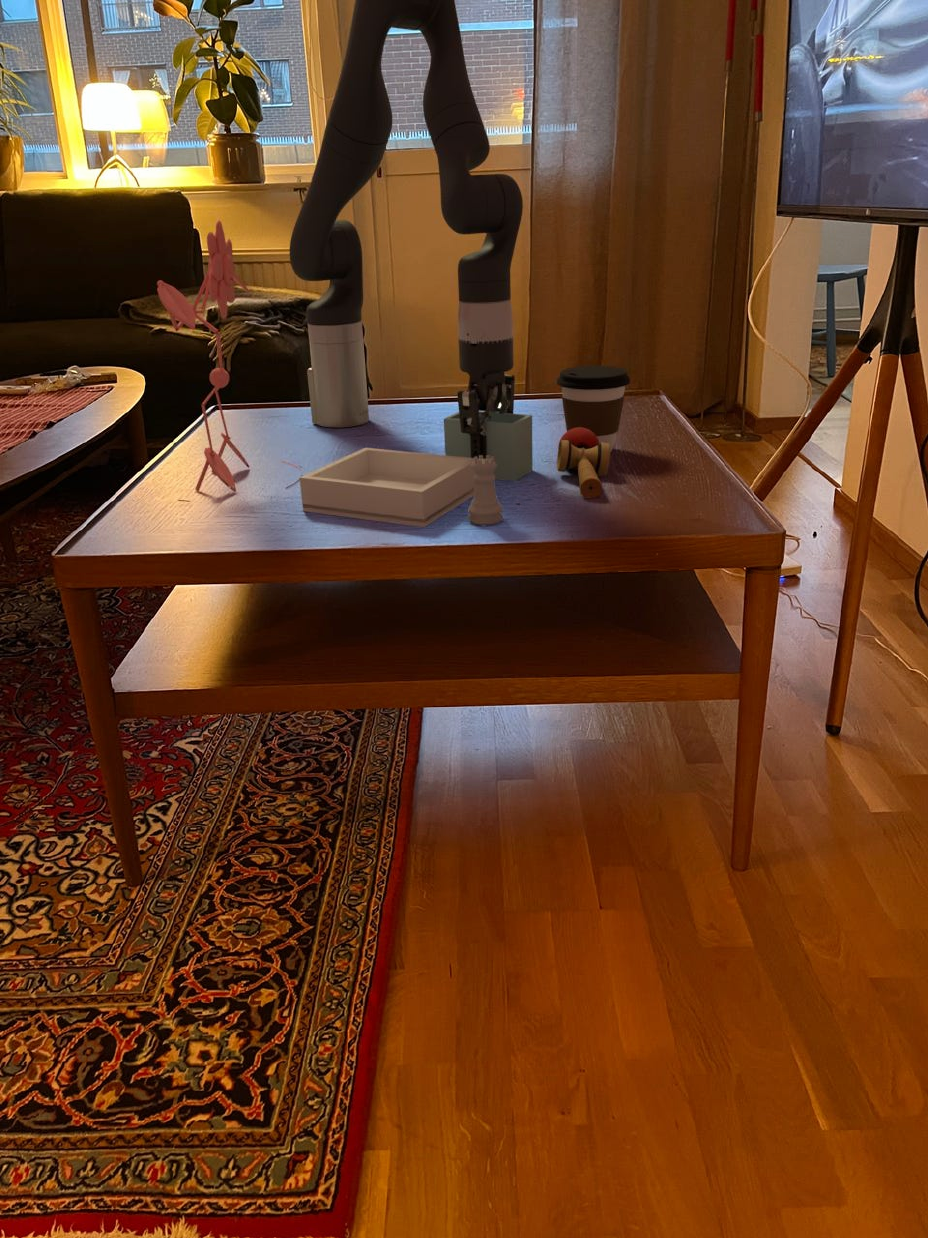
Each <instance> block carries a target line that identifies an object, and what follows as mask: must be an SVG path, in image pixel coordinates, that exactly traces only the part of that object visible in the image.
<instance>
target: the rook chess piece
mask: <svg viewBox="0 0 928 1238" xmlns="http://www.w3.org/2000/svg"><path fill="white" fill-rule="evenodd" d="M473 459H474V462H473V463H472V465H471V468H472V469H473V470H474V472H475V476H474V477H473V479H474V480H475V489H474V496H472V497H473V498H472V500H471V502H470V503H471V504H470V505H469V507H468V511H467V512H468V513H469V515H468V516H467V519H468V520H469V522H470V523H471V524H473V525H475V526H480V525H485V526H484V527H486V526H488V525H489V526H494V525H498V524H499V523H501V521H502V520H503V519H504V515H503V514H502V512H503V510H504V509H503V506H502V505H501V504H500V503H499V502H500V501H499V499H498V497H497V494H496V493H497V491H496V487H495V486H496V485H495V480H496V479H495V478H496V477H495V475H494V470H495V469H496V467H497V464H496V462H495V461H494V457H493V456H492V457H491V459H490V455H486V459H483V455H480V456H479V459H478V457H477V456H476V457H474V458H473Z"/></svg>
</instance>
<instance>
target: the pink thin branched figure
mask: <svg viewBox="0 0 928 1238" xmlns="http://www.w3.org/2000/svg"><path fill="white" fill-rule="evenodd" d="M206 246H207V251H208V256H209V259H208V264H207V265H208V267H207V272H206V275H205V277H204V279H203V282H202V284H201V286H200V289H199V291H198V293H197V296H196V298H195V300H194V303H193V305H192V304H191V302H190V301H188V299H187V298H186V296H185V295H183V294H182V293H181V292H180V291H179V290H178V289H176V287H174V286H173V285H170V284H168V283H166V282H164V281H163V280H161V279H160V280H158V281H157V282H156V285H157V289H156V290H157V293H158V297H159V300H160V302H161V303H162V305H163V306H164V308H165V309H166V310H167V312H168V315H169V318H170V321H171V323H172V326H173V329H174V331H175V332H178V331H179V330H180V329H181V328H182V327H183V326H184V325H185V326H186V327H188V328H189V329H192V330H195V329H196V323H197V322H196V319H197V320H198V321H200V322H201V323H202V324H203V325H204V326H205V327H207V328H208V329H209V330H210V331H211V332H213V333H214V334H215V338H216V347H217V355H218V364H219V367H216V368H214V369H212V370H211V372H210V373H209V381H210V384H211V385H212V386H214V387H213V389H212V390H211V392H210V393H209V394H208V395H207V396H206V397H205V399H204V401H203V402H202V403H201V410H202V414H203V419H204V423H205V424H204V425H205V428H206V429H205V430H206V435H207V441H208V444H209V446H208V447H205V448H204V451H203V454H204V457H205V459H206V460H205V463H204V466H203V468H202V471H201V474H200V476H199V479H198V481H197V482H196V483H197V484H196V486H195V491H198V492H199V491H200V489H201V486H202V484H203V481H204V479H205V477H206V473H207V471H208V468H209V467H210V468H211V473H212V474H214V475H216V476H217V478H218V479H219V480H220V481H221V482H222V484H224V485H226V486H227V487H228V488H229V489H230V490H231V491H233V493H236V492H237V488H236V484H235V478H234V477H233V475H232V472H231V471H230V468H229V467H228V466H227V464H226V463H225V461H224V460H223V459H222V456H223V453H224V451H225V448H226V446H228V447H229V448H230V449H231V450H232V451H233V452H234V454H235V455H236V456H237V458H239V460H241V462H242V463H243V464H244V466H246V467H247V468H250V467H251V466H250V465H249V463H248V461H247V460H246V459H245V457H244V456H243V455H242V453H241V452H240V451H239V449H238V448H237V447H236V445H234V444H233V442H232V441H231V438H232V437H230V436H229V433H228V429H227V424H226V420H225V419H226V418H225V415H224V411H223V408H222V403H221V399H220V396H219V395H220V394H219V389H223V388H225V387H226V386H227V385H228V384H229V382H230V374H229V372H228V371H226V369H225V368H223V355H222V343H221V342H222V341H221V333H220V332H219V330H218V329H217V328H216V327H214V326H213V325H212V324H211V323H210V322H209V321H207V320H205V319H204V318H203V317H201V316H200V314H204V313H205V309H206V307H207V306H206V305H207V302H208V298H209V299H210V301H211V302H212V303H215V302H217V306H218V309H219V312H220V316H221V319H222V320H225V319H226V318H227V317H228V303H230V304H232V303H234V301H235V300H236V292H235V287H234V284H233V282H234V281H235V282H236V283H237V284H238V285H239V286H240V287H241V288H242V289H243V290H244V291H245V292H246V293H250V290H249V288H248V287H247V286H246V285H245V283H244V281H242V279H240V277H239V276H238V275H237V274H236V273H235V270H236V269H235V268H236V267H235V262H234V260H233V242H232V239H230V238H227V240H226V236H225V232H224V228H223V224H222V221H221V220H217V222H216V225H215V234H214V232H211V231H209V232H208V233H207V235H206ZM203 294H204V295H203ZM202 295H203V299H202ZM201 299H202V303H201V307H200V309H198V305H199V303H200V301H201ZM176 320H178V321H179V322H178V324H177V321H176ZM214 393H215V396H216V397H215V398H216V400H217V404H218V409H219V412H220V417H221V420H222V424H223V428H224V431H225V433H223V432H221V433H220V436H221V437H222V438H223V441H222V444H221V446H220V449H219V451H218V453H217V452H216V451H215V450H213V448H214V447H213V444H212V438H211V434H210V433H211V432H210V429H209V423H208V416H207V412H206V406H205V405H206V404H207V402H208V401H209V400H210V398H212V396H213V394H214ZM280 462H281V463H285V464H288V465H291V466H293V467H295V468H297V469H298V470H299V471H300V472H301V476H300V477H302V476H303V474H302V472H303V471H302V470H301V469H302V468H303V467H302V466H300V465H298V464H297V466H296V464H292V463H290V462H286V461H283V460H280ZM299 467H300V468H299ZM298 482H300V478H299V479H298V480H296V481H295V482H293V483H292V484H290V485H288V486H286V487H285V489H287V488H290V487H292V486H294V485H295V484H296V483H298ZM177 501H178V502H186V503H187V502H188V503H189V502H191V501H190V500H184V499H178V500H177Z"/></svg>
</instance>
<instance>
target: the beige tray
mask: <svg viewBox="0 0 928 1238" xmlns="http://www.w3.org/2000/svg"><path fill="white" fill-rule="evenodd" d="M473 462H474V459H473V458H467V457H456V456H446V455H443V454H437V453H436V454H435V453H423V452H414V451H405V450H393V449H382V448H375V447H374V448H373V447H364V448H361V449H359V450H357V451H355V452H353V453H350V454H349V455H346V456H344V457H342V458H339V459H337V460H336V461H333V462H331V463H328V464H327V465H324V466H323V467H320V468H318V469H316V470H313V471H311V472H309V473H307V474H305V475H302V476H299V479H300V480H299V484H300V486H299V487H300V493H301V504H302V505H301V506H302V510H303V511H302V512H306V513H307V512H308V513H315V514H324V515H329V516H337V517H338V516H339V517H344V518H345V517H347V518H352V519H360V520H368V521H374V522H384V523H390V524H398V525H404V526H411V527H420V528H425V527H426V526H428V525H430V524H431V523H433V522H435V521H436V520H437V519H439V518H441V517H442V516H444V515H445V514H447V513H449V512H450V511H452V510H453V509H455V508H456V507H458V506H459V505H461V504H463V503H465V502H466V501H467V500H469V499H470V498H472V497H474V489H475V480H474V479H473V477H474V476H475V472H474V470H473V469H472V468H471V465H472V463H473Z"/></svg>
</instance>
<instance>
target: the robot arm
mask: <svg viewBox="0 0 928 1238" xmlns="http://www.w3.org/2000/svg"><path fill="white" fill-rule="evenodd" d="M351 17H352V18H351V23H350V28H349V33H348V34H349V35H348V39H347V45H346V48H345V49H346V50H345V54H344V59H343V62H342V66H341V71H340V75H339V79H338V81H337V87H336V90H335V94H334V97H333V100H332V103H331V107H330V110H329V113H328V116H327V121H326V125H325V128H324V133H323V136H322V141H321V146H320V150H319V153H318V156H317V161H316V164H315V168H314V171H313V173H312V176H311V182H310V184H309V186H308V190H307V192H306V195H305V198H304V201H303V202H302V205H301V207H300V211H299V212H298V213H299V214H298V215H297V217H296V220H295V223H294V226H293V229H292V233H291V237H290V241H289V250H288V251H289V261H290V262H289V263H290V265H291V269H292V271H293V272H294V275H295V276H297V277H298V278H299V279H301V280H302V281H307V282H323V281H329V285H328V288H327V290H326V292H324V294H322V295H321V297H319V298H318V299H316V300H314V301H313V302H311V303H310V304H309V305H307V306H306V322H307V329H308V330H307V331H308V342H309V343H308V344H309V351H310V362H311V367H309V368H308V369H307V371H306V372H307V382H308V384H307V385H308V392H309V393H308V394H309V401H310V412H311V413H310V414H311V422H312V424H314V425H317V426H321V427H325V428H350V427H355V426H356V427H357V426H360V425H365V424H366V423H368V422H369V421H370V417H369V416H370V415H369V412H370V411H369V410H370V409H369V402H368V399H369V398H368V389H367V384H368V383H367V373H366V361H365V360H366V357H365V348H364V334H363V333H364V332H363V322H362V310H363V306H364V305H363V304H364V282H363V281H364V275H363V269H364V268H363V265H364V264H363V250H362V243H361V238H360V235H359V233H358V230H357V229H356V226H354V224H353V223H352V222H351V221H349V220H346V219H338V216H339V215H340V213H341V212H342V210H343V209H344V207H346V205H347V204H348V203H349V202H350V201H351V200H352V199H354V197H355V195H357V193H359V192H360V191H361V190H362V189H363V188H364V187H365V186H366V185H367V183H368V182H369V181H370V180H371V179H372V177H373V176H374V175H375V173H376V172H377V170H378V169H379V167H380V166H381V162H382V161H383V158H384V154H385V151H386V148H387V145H388V142H389V139H390V137H391V133H392V128H393V110H392V106H391V102H390V98H389V95H388V92H387V87H386V83H385V80H384V75H383V71H382V59H383V52H384V47H385V42H386V39H387V36H388V33H389V32H390V29H392V28H393V29H400V30H409V31H420V33H421V35H422V36H423V38H424V39H425V42H426V44H427V47H428V50H429V53H430V62H429V63H430V64H429V68H428V73H427V77H426V81H425V86H424V90H423V94H422V95H423V97H422V111H423V117H424V121H425V124H426V127H427V130H428V133H429V137H430V140H431V142H432V146H433V148H434V151H435V154H436V157H437V164H438V175H439V188H440V208H441V214H442V217H443V219H444V222H445V223H446V224H447V226H448V227H449V228H450V230H452V231H453V232H455V233H456V234H458V235H476V234H485V237H484V240H483V243H482V245H481V247H480V248H479V249H478V250H476V251H474V252H471V253H468V254H466V255H464V256H462V257H461V258H460V259H459V261H458V263H457V281H458V283H457V286H458V287H457V288H458V309H457V310H458V313H457V331H458V332H457V334H458V336H457V337H458V364H459V369H460V370H461V372H463V373H466V374H468V377H469V378H468V379H469V380H468V386H467V389H466V390H458V391H457V396H456V397H457V405H458V406H457V407H458V412H459V416H460V425H461V432H462V433H467V434H468V435H470V445H471V458H474V457H476V456H477V457H478V459H479V456H480V455H483V459H486V455H487V443H486V430H487V422H488V421H489V420H490V419H491V418H492V414H493V412H497V413H500V414H504V413H511V414H514V409H515V408H514V406H515V404H514V403H515V385H516V383H515V381H516V378H515V374H508V373H507V374H506V372H509V371H511V370H512V369H513V368H514V363H515V361H514V358H515V357H514V356H515V354H514V314H513V308H512V300H511V298H512V297H511V296H512V295H511V287H512V286H511V267H512V262H513V258H514V252H515V248H516V242H517V240H518V239H517V238H518V235H519V231H520V226H521V223H522V217H523V210H524V209H523V208H524V201H523V196H522V190H521V188H520V186H519V184H518V183H517V181H516V179H514V178H513V177H512V176H510V175H508V174H506V173H505V174H504V173H491V174H471V173H470V171H472V170H474V169H476V168H478V167H480V166H482V164H484V162H485V161H486V160H487V158H488V157H489V154H490V149H491V148H490V146H491V145H490V141H489V137H488V134H487V133H488V132H487V131H486V128H485V125H484V122H483V119H482V116H481V114H480V111H479V107H478V105H477V101H476V99H475V95H474V94H473V93H474V92H473V89H472V86H471V83H470V79H469V78H470V77H469V75H468V70H467V64H466V60H465V53H464V47H463V42H462V40H463V39H462V35H461V29H460V28H461V27H460V24H459V23H460V22H459V18H458V12H457V6H456V0H355V1H354V5H353V12H352V16H351ZM479 411H484V412H479ZM467 418H469V420H468V424H467ZM480 419H481V425H480Z"/></svg>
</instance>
